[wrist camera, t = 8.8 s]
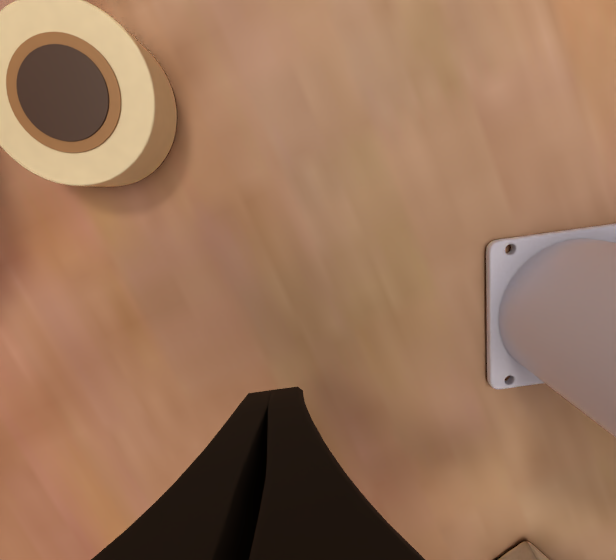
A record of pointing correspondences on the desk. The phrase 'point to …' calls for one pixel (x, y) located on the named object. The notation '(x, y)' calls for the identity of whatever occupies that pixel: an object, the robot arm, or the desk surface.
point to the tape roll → (81, 96)
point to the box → (524, 553)
